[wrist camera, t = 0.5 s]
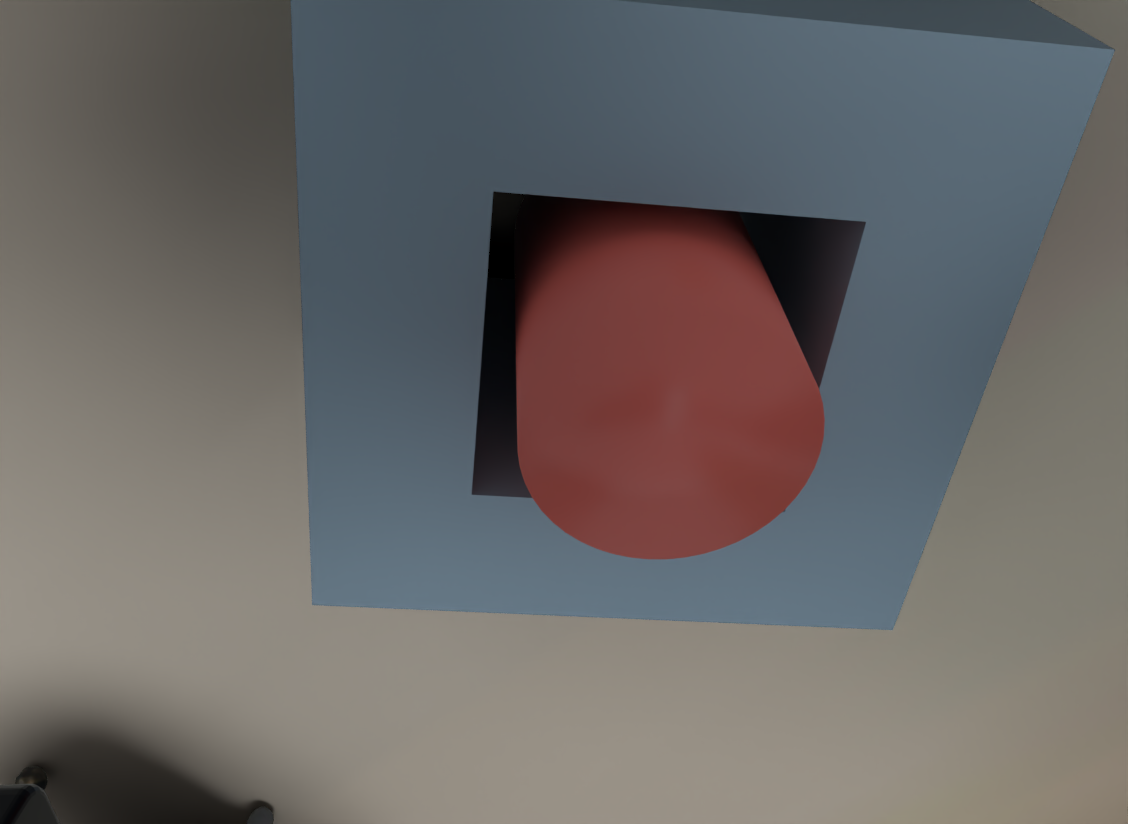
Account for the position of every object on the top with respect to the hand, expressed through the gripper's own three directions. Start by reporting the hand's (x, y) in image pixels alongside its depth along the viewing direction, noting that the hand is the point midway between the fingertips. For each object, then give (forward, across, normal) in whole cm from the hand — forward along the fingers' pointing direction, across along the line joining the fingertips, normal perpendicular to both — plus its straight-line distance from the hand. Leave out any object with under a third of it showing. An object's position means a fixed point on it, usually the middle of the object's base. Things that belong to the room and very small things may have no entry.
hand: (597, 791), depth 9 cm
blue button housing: (+11, -1, -1) cm, 11 cm away
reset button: (+8, -1, -1) cm, 9 cm away
